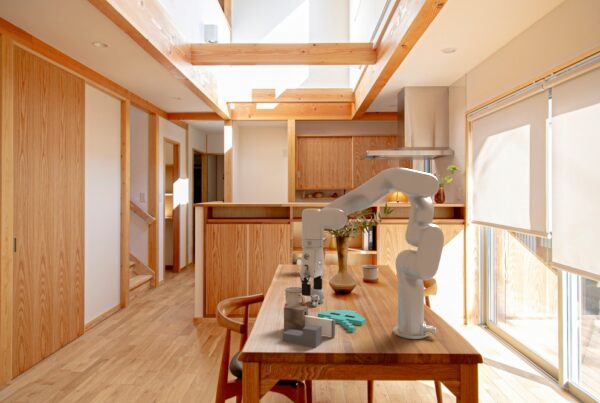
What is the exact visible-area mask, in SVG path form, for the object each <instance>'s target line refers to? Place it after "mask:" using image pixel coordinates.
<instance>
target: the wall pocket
mask: <svg viewBox="0 0 600 403" xmlns="http://www.w3.org/2000/svg"><path fill="white" fill-rule="evenodd" d="M304 315H306V316H309V306H305V305H297V304H292V303H290V304H288V305H286V306H284V307H283V332H285V331H287V330H288V329H294V330H299V331H303V328H304Z"/></svg>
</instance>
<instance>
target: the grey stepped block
mask: <svg viewBox="0 0 600 403" xmlns="http://www.w3.org/2000/svg"><path fill="white" fill-rule="evenodd" d="M322 337H323V335H322V326H318V325H312V324H308V325H307V326H305V327H304V328H303V331H299V330H294V329H288V330H287V331H283V332H282V342H285V343H289V344H294V345H300V346H303V347H311V348H315V349H316V348H317V347H319V346H320V345H321V344H322V343H323V340H322V339H323V338H322Z"/></svg>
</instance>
